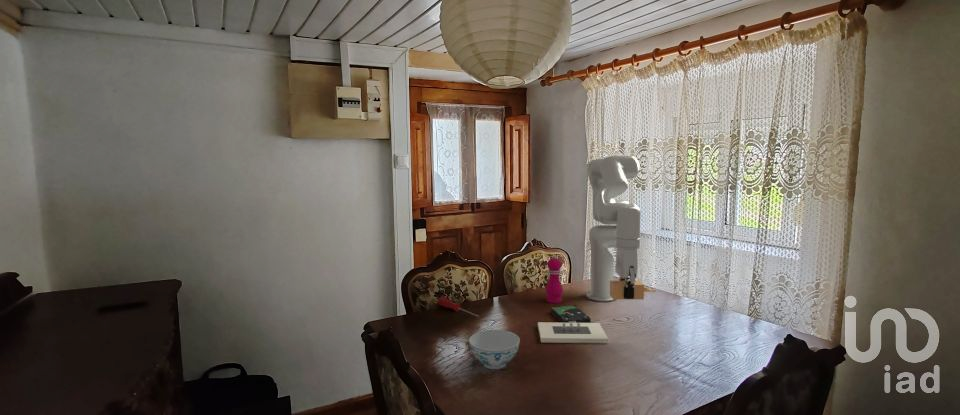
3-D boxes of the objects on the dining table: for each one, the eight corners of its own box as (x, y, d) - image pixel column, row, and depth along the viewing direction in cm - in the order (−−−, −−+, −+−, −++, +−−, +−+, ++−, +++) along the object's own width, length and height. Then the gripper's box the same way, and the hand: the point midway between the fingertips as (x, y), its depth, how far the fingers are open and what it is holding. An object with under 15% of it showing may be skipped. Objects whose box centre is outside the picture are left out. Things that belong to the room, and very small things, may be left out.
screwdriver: (475, 322, 167) (475, 313, 167) (437, 305, 186) (436, 297, 186) (482, 319, 170) (482, 310, 169) (444, 303, 189) (443, 295, 188)
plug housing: (609, 294, 154) (609, 280, 153) (651, 294, 153) (652, 280, 153) (613, 299, 149) (613, 284, 148) (656, 299, 149) (657, 284, 148)
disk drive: (591, 325, 164) (574, 311, 179) (591, 318, 164) (574, 304, 178) (564, 328, 162) (549, 313, 177) (565, 320, 162) (550, 306, 176)
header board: (537, 326, 162) (537, 315, 162) (599, 326, 161) (599, 315, 161) (541, 342, 148) (541, 330, 148) (608, 343, 147) (608, 331, 147)
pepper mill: (564, 303, 187) (564, 256, 185) (546, 303, 187) (547, 256, 185) (561, 298, 194) (561, 252, 192) (544, 298, 194) (544, 253, 192)
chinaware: (462, 358, 137) (461, 334, 136) (505, 349, 143) (505, 326, 142) (481, 380, 124) (481, 354, 123) (529, 369, 130) (529, 344, 129)
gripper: (609, 238, 158) (608, 288, 160) (623, 248, 141) (622, 304, 143) (631, 238, 157) (630, 288, 160) (647, 248, 141) (645, 304, 143)
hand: (626, 295), depth 151 cm, fingers closed on plug housing, 5 cm apart
